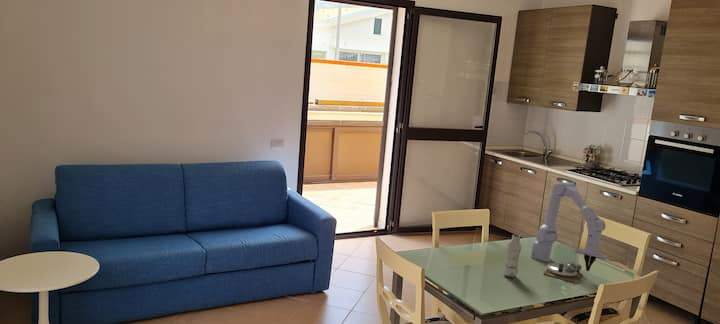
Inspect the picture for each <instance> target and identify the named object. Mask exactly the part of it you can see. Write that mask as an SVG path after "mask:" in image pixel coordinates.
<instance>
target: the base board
mask: <svg viewBox="0 0 720 324" xmlns="http://www.w3.org/2000/svg"><path fill="white" fill-rule="evenodd" d="M576 265H577V269H576V270H577V275H576V276H575V277H563V276H558V275H555V274H553V273H551V272H549V271H548V270H547V268H546V269H545V271H544V272H543V275H544V276H548V277H551V278H554V279H558V280H561V281H565V282H569V283H573V284H577V285H578V284H579V282H580V280H581V278H582V276H583V272H580V271H581V270H582V268H583V266H582V265H581V264H579V263H578V264H576Z"/></svg>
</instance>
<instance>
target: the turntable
mask: <svg viewBox="0 0 720 324" xmlns="http://www.w3.org/2000/svg"><path fill="white" fill-rule="evenodd" d="M565 268H566V264H564V263H562V262H560V263H558V262H548V264H547V265H546V269H547V270H548V271H549V272H551V273H553V274H555V275H558V276H563V277H575V276H576V275H577V269H576V272H569V271H566V270H565Z"/></svg>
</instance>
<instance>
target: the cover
mask: <svg viewBox="0 0 720 324" xmlns="http://www.w3.org/2000/svg"><path fill="white" fill-rule="evenodd" d="M565 265H566V268H565V270H566V271H569V272H576V270H577V264H576V263H575V262H573V261H569V262H566V264H565Z"/></svg>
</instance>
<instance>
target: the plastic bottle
mask: <svg viewBox="0 0 720 324" xmlns="http://www.w3.org/2000/svg"><path fill="white" fill-rule="evenodd" d="M520 241H521V236H520V235H518V234H512V236H511V240H510V242H508V244H507V247H506V248H507V251H506V253H507V254H506V260H505V264H504V267H503V272H502V273H503V275H504V276H505V277H508V278H515V277H516V276H517V275H518V263H519V258H520V254H521V251H522V245H521V242H520Z"/></svg>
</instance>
